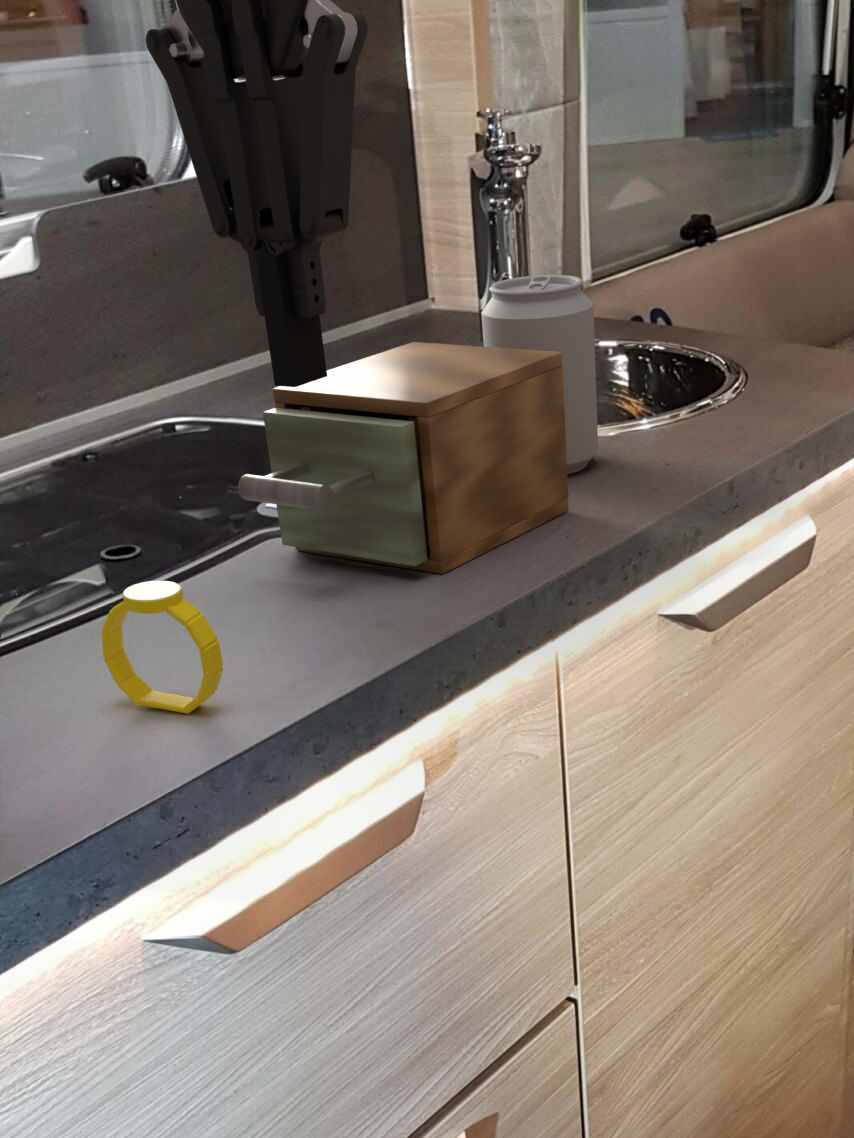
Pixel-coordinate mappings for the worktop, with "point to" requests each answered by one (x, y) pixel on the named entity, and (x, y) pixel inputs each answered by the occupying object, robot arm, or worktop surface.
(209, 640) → the watch
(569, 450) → the can
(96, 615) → the worktop surface
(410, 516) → the drawer
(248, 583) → the worktop surface
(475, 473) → the cabinet
